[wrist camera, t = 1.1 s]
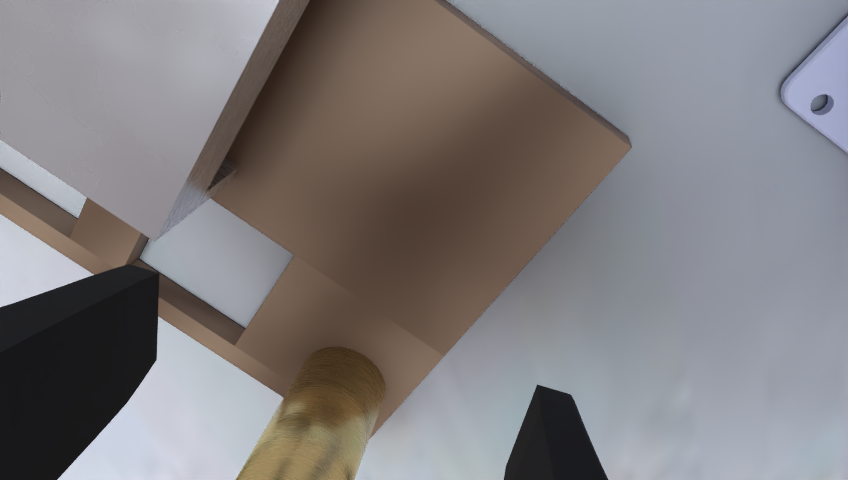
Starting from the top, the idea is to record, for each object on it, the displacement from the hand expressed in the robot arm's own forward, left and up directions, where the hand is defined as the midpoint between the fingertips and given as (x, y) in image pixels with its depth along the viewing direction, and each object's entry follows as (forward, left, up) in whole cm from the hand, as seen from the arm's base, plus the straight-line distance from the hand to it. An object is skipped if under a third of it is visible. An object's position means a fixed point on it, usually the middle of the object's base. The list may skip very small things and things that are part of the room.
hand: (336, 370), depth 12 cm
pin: (-2, +7, -8) cm, 11 cm away
